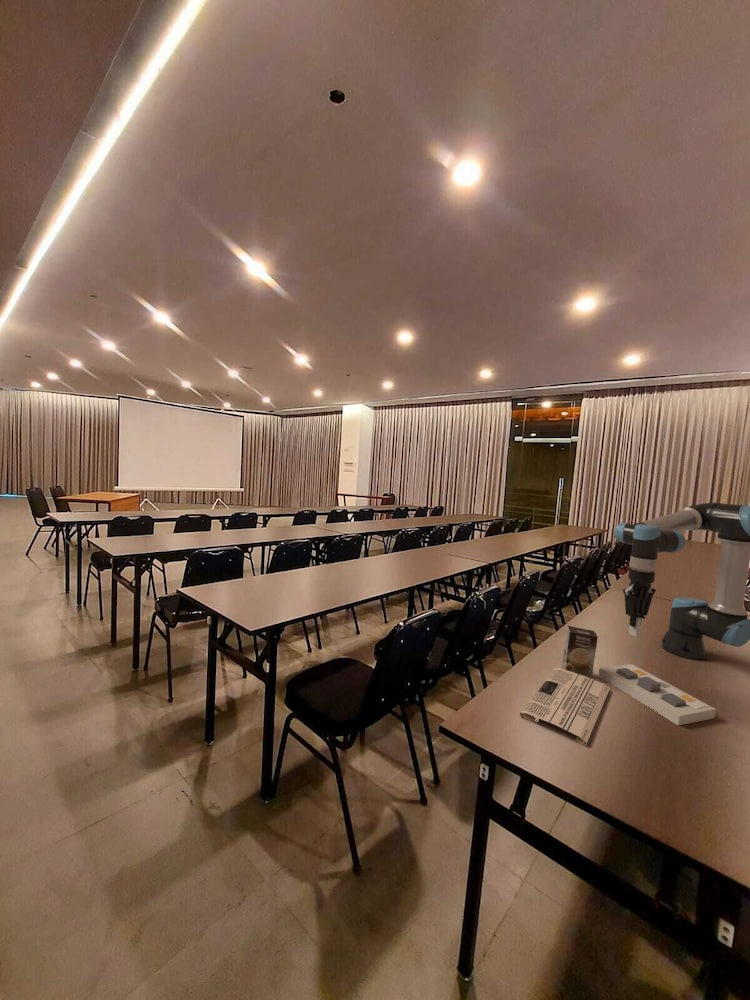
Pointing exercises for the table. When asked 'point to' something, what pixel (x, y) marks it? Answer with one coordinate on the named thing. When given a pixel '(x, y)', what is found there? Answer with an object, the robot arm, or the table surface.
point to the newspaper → (568, 702)
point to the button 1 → (627, 673)
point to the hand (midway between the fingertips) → (633, 634)
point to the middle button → (649, 684)
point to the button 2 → (673, 700)
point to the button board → (659, 696)
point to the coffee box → (580, 651)
